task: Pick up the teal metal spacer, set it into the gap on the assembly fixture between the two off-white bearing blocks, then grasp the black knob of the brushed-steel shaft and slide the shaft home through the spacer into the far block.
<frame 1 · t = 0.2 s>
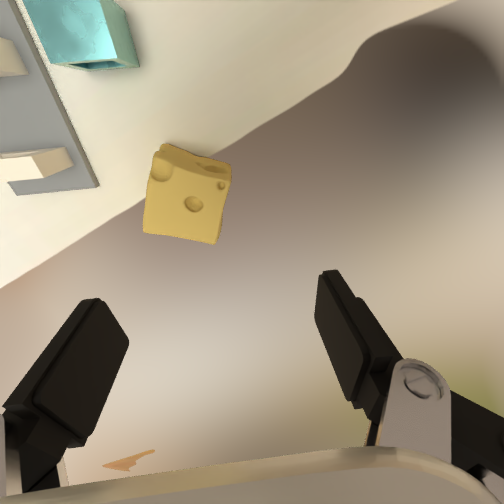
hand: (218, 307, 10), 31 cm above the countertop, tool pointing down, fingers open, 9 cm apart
cheese: (195, 184, 37), on the countertop
assembly fixture: (17, 111, 30), on the countertop
spacer: (104, 42, 27), on the countertop
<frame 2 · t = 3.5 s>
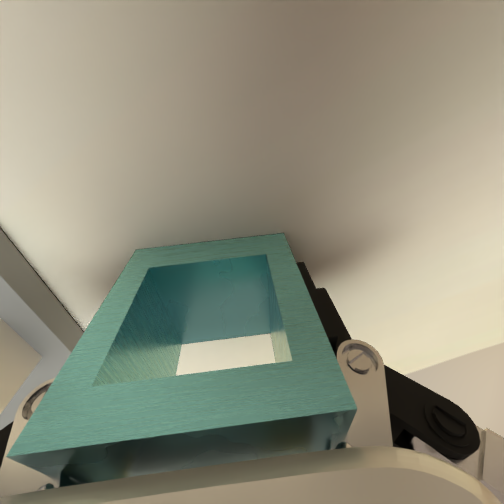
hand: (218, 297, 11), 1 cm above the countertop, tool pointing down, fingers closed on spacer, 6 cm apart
assembly fixture: (16, 379, 14), on the countertop
spacer: (219, 283, 11), on the countertop, touching gripper
when the fingers open (4 cm above the countertop, at t = 8.8 s): spacer drops 1 cm, resting on assembly fixture.
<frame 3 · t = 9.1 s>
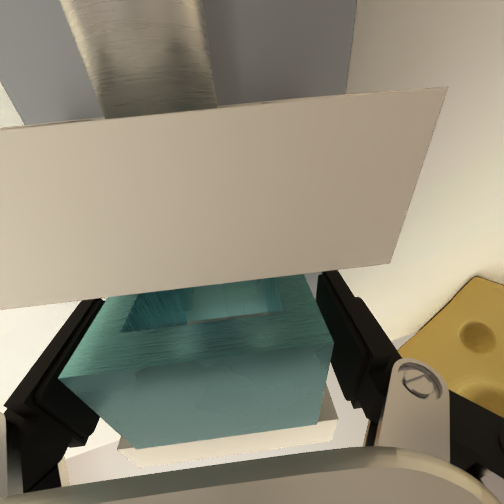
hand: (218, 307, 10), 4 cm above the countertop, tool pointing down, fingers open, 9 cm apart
cheese: (468, 324, 21), on the countertop
assembly fixture: (218, 240, 13), on the countertop
spacer: (221, 266, 13), point 1 cm above the countertop, touching assembly fixture
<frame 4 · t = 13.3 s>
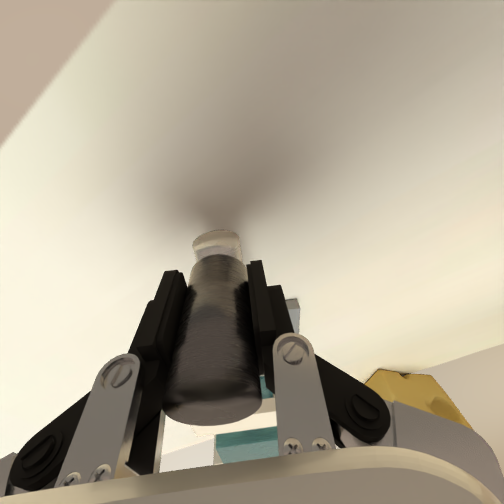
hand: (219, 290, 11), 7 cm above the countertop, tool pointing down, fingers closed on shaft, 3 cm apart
cheese: (385, 387, 35), on the countertop
assembly fixture: (246, 364, 28), on the countertop
spacer: (248, 378, 27), point 1 cm above the countertop, touching assembly fixture
shaft: (237, 383, 15), point 8 cm above the countertop, slide at 0.0 cm, touching gripper
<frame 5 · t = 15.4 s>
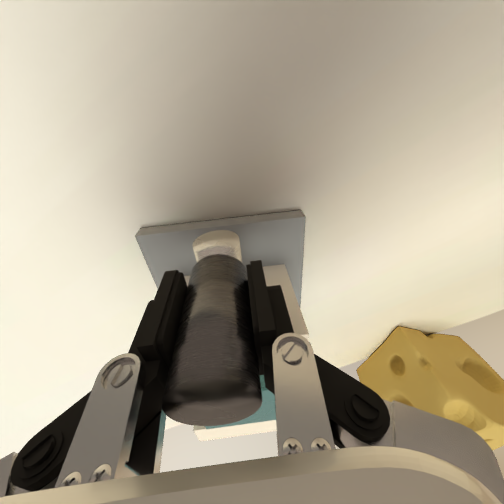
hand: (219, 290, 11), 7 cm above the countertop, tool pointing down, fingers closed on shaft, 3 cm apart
cheese: (403, 352, 30), on the countertop
assembly fixture: (237, 313, 23), on the countertop
spacer: (240, 329, 22), point 1 cm above the countertop, touching assembly fixture
shaft: (237, 383, 15), point 8 cm above the countertop, slide at 9.5 cm, touching gripper
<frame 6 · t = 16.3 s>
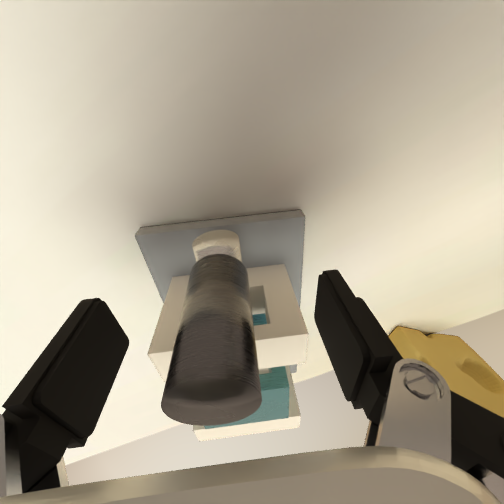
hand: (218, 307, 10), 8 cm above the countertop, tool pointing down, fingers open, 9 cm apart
cheese: (403, 352, 30), on the countertop
assembly fixture: (237, 313, 23), on the countertop
spacer: (240, 329, 22), point 1 cm above the countertop, touching assembly fixture
shaft: (237, 383, 15), point 8 cm above the countertop, slide at 9.5 cm
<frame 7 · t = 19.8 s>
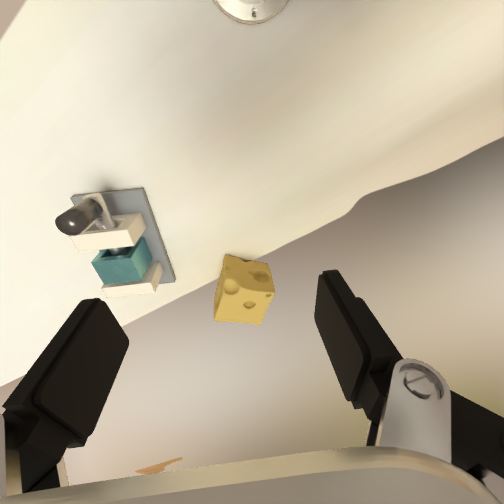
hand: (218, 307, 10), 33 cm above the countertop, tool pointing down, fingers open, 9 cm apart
cheese: (241, 275, 52), on the countertop
assembly fixture: (131, 242, 45), on the countertop
spacer: (131, 249, 44), point 1 cm above the countertop, touching assembly fixture
shaft: (108, 254, 37), point 8 cm above the countertop, slide at 9.5 cm
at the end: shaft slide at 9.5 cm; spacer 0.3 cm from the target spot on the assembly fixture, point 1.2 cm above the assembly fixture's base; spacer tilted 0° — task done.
